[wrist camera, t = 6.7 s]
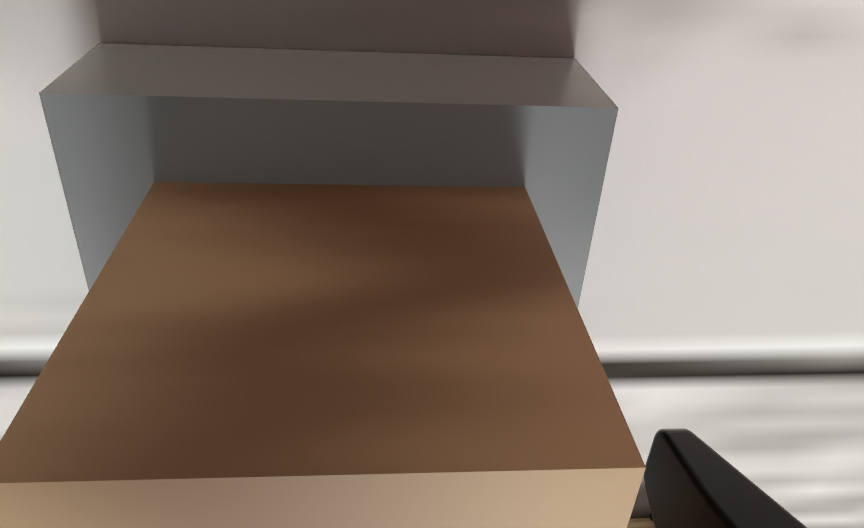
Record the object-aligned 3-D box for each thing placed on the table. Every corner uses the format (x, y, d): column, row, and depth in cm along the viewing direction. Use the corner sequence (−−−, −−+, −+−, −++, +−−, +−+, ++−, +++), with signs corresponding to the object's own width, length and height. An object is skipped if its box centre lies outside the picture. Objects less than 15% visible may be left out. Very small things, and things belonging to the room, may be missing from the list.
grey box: (574, 58, 12) (618, 108, 10) (519, 398, 16) (542, 482, 14) (99, 43, 11) (39, 93, 9) (170, 403, 16) (140, 493, 14)
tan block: (525, 186, 11) (645, 466, 6) (490, 442, 14) (553, 763, 9) (153, 181, 10) (-25, 483, 6) (200, 448, 13) (109, 790, 8)
